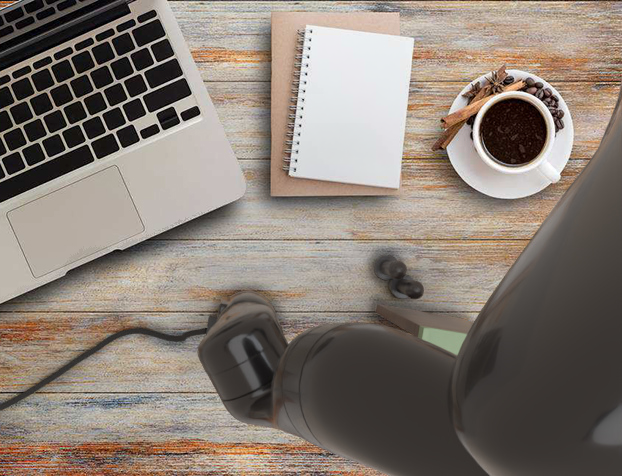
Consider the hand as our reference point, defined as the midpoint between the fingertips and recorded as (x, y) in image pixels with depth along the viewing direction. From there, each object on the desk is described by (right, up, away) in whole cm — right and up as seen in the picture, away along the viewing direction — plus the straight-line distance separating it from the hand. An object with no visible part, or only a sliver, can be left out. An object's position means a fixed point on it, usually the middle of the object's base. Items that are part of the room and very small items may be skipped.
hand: (566, 318), depth 59 cm
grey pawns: (-11, +2, +29) cm, 31 cm away
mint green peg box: (-8, -11, +29) cm, 32 cm away
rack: (-8, -11, +7) cm, 15 cm away
